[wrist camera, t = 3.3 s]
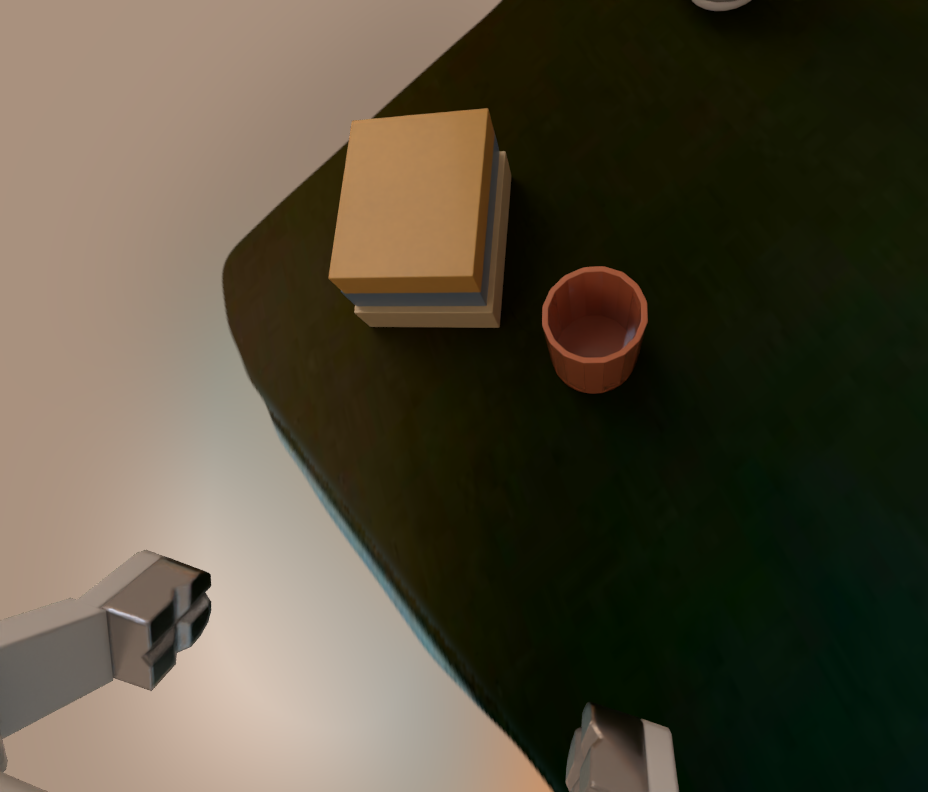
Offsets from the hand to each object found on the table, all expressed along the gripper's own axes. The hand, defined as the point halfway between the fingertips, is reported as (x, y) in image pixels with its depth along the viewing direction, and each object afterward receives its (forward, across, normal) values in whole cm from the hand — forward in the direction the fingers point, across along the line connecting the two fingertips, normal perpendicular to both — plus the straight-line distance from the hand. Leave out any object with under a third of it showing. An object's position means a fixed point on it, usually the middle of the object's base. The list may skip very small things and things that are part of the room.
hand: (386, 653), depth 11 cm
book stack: (+37, +10, -2) cm, 38 cm away
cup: (+32, -4, +2) cm, 32 cm away
